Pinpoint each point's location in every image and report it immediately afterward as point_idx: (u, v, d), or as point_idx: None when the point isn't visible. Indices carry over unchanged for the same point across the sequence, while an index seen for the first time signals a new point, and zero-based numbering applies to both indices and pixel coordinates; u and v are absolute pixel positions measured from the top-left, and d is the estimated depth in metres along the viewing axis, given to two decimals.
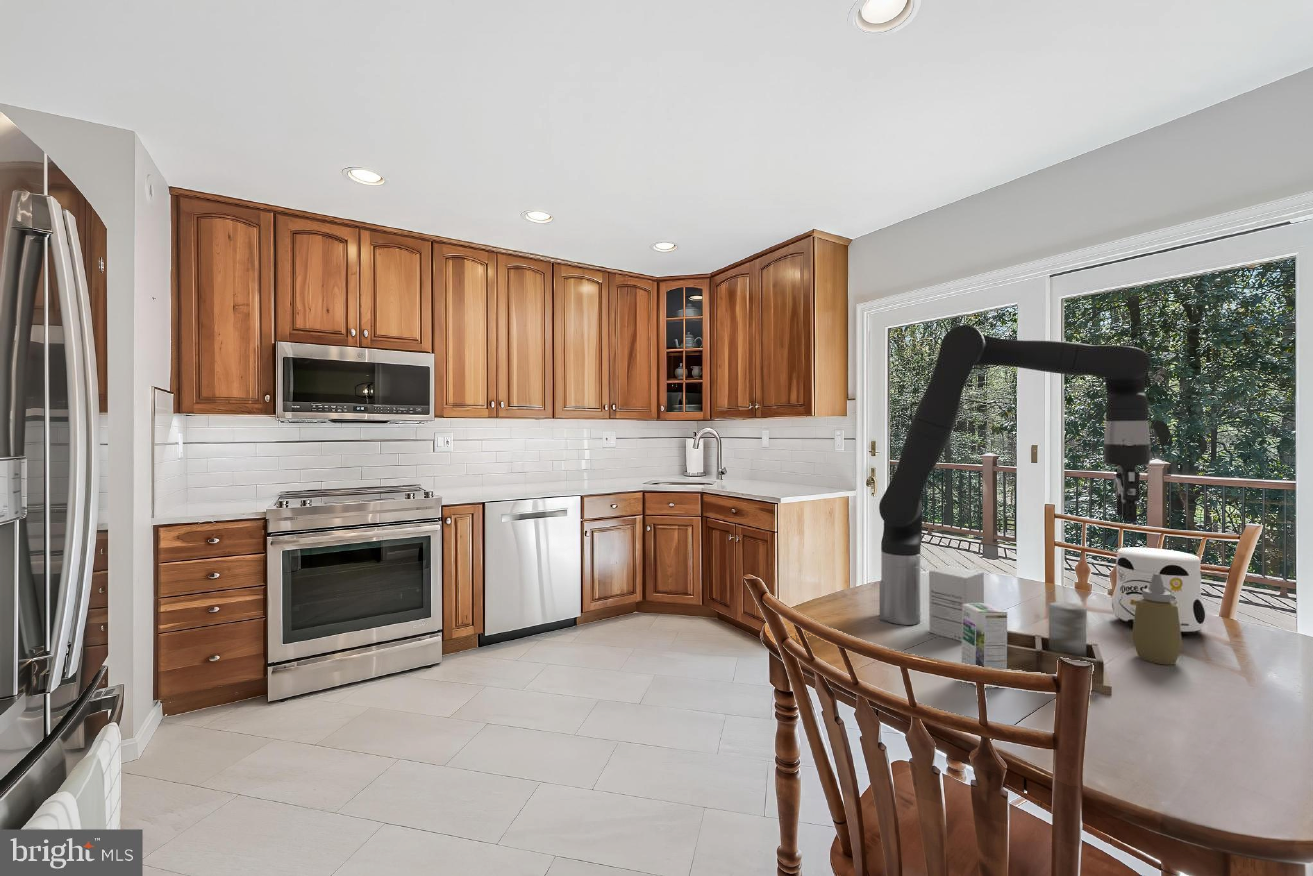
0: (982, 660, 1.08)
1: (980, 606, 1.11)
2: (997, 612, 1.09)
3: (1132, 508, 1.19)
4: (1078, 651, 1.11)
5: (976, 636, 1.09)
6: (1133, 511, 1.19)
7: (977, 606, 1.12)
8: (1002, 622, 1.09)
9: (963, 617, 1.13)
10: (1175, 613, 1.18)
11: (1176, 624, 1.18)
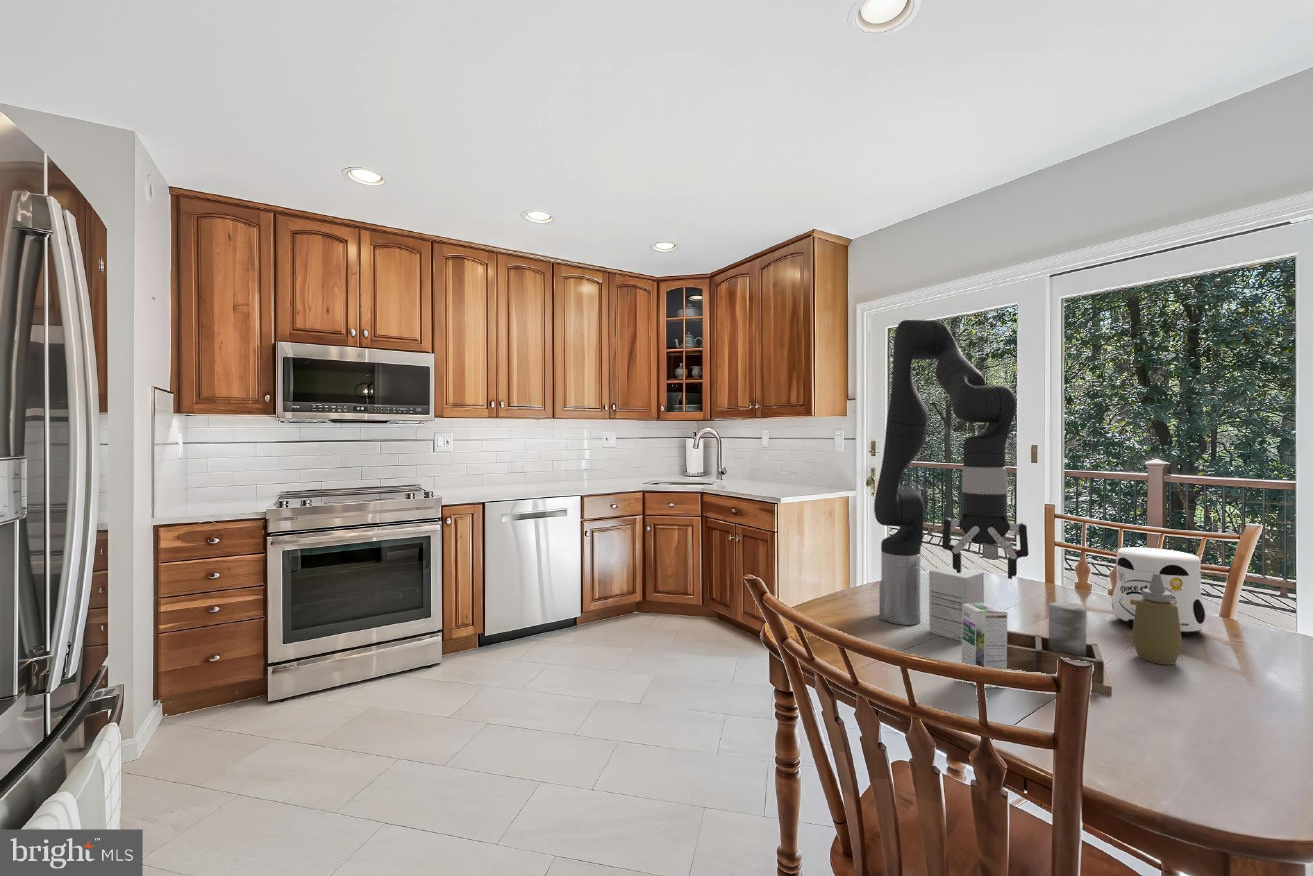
0: (982, 660, 1.08)
1: (980, 606, 1.11)
2: (997, 612, 1.09)
3: None
4: (1078, 651, 1.11)
5: (976, 636, 1.09)
6: None
7: (977, 606, 1.12)
8: (1002, 622, 1.09)
9: (963, 617, 1.13)
10: (1175, 613, 1.18)
11: (1176, 624, 1.18)
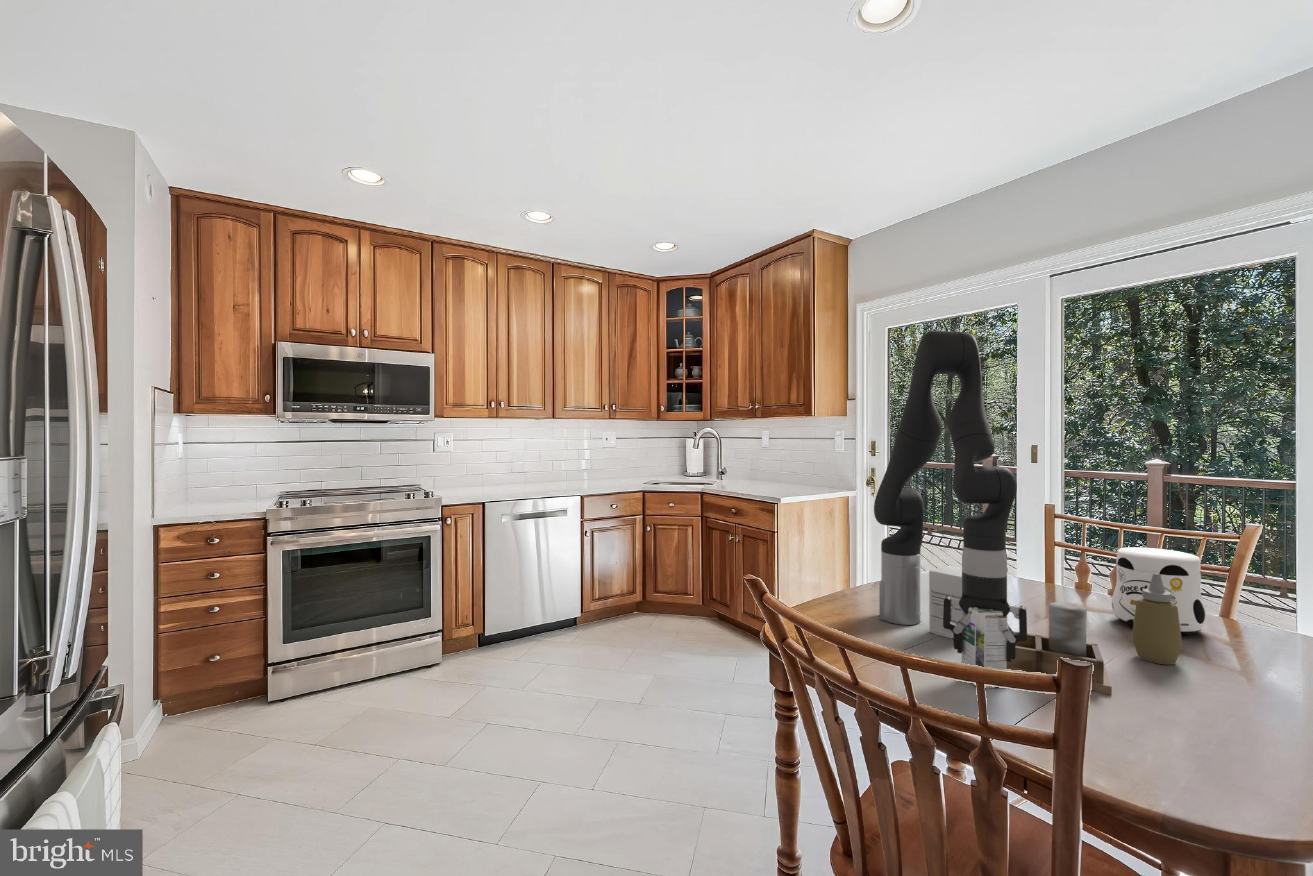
0: (981, 660, 1.08)
1: None
2: (997, 612, 1.09)
3: None
4: (1078, 651, 1.11)
5: (976, 636, 1.09)
6: (1015, 649, 1.09)
7: None
8: None
9: (963, 617, 1.13)
10: (1175, 613, 1.18)
11: (1176, 624, 1.18)
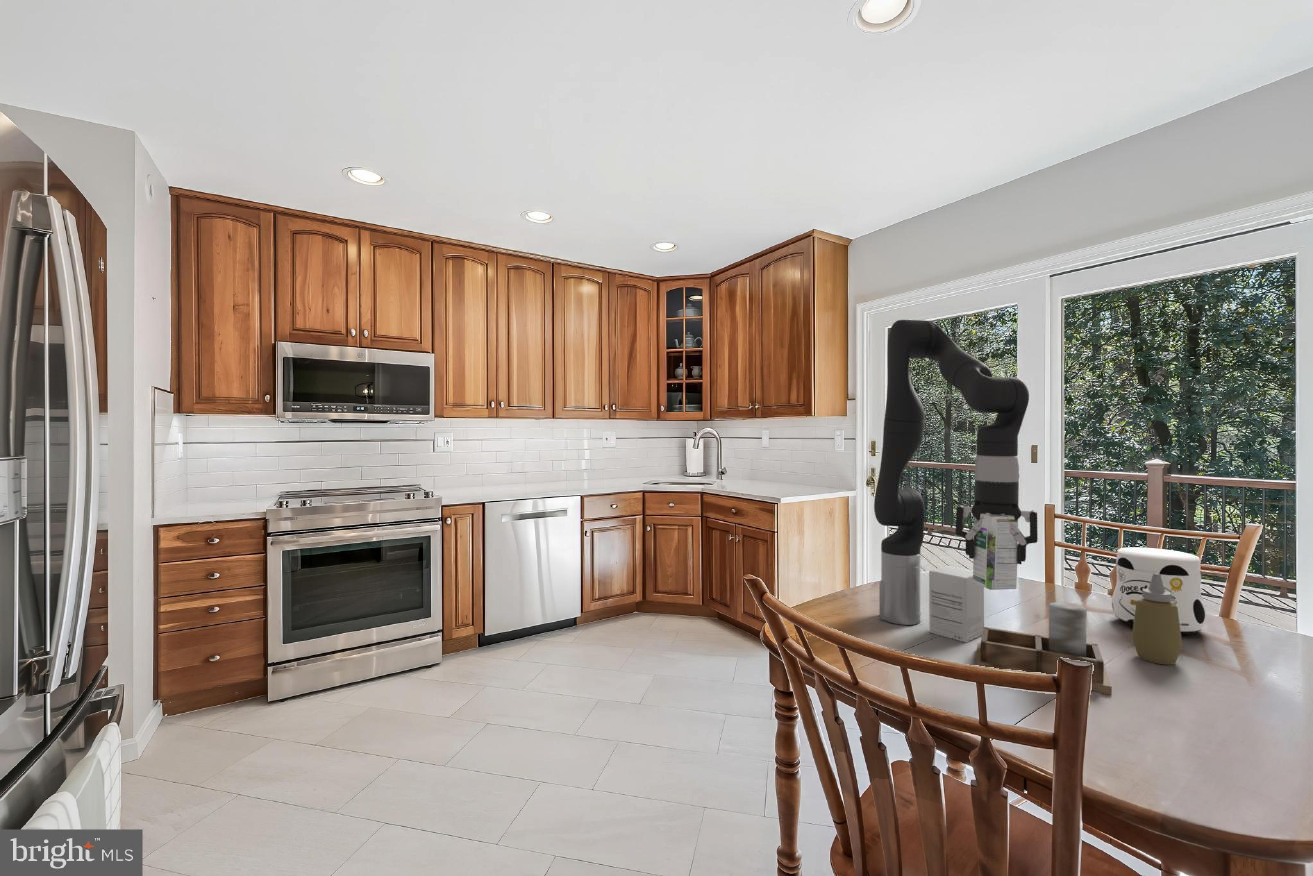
0: (992, 562, 1.12)
1: None
2: (1008, 516, 1.12)
3: None
4: (1078, 651, 1.11)
5: (988, 539, 1.13)
6: None
7: None
8: None
9: None
10: (1175, 613, 1.18)
11: (1176, 624, 1.18)
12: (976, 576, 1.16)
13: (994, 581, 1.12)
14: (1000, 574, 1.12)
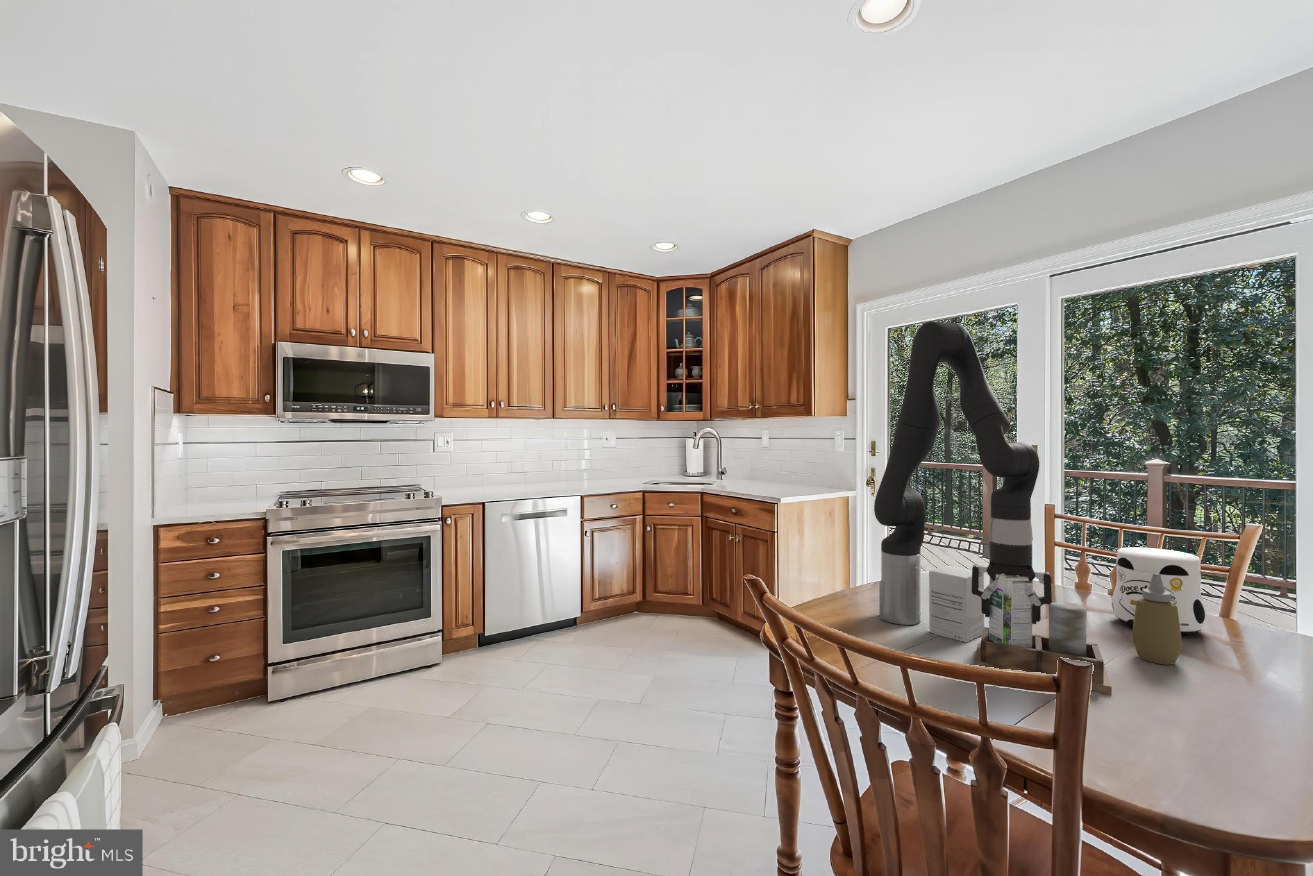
0: (1009, 622, 1.16)
1: None
2: (1023, 578, 1.16)
3: None
4: (1078, 651, 1.11)
5: (1004, 600, 1.17)
6: None
7: None
8: None
9: None
10: (1175, 613, 1.18)
11: (1176, 624, 1.18)
12: (992, 634, 1.20)
13: (1011, 641, 1.16)
14: (1016, 634, 1.16)
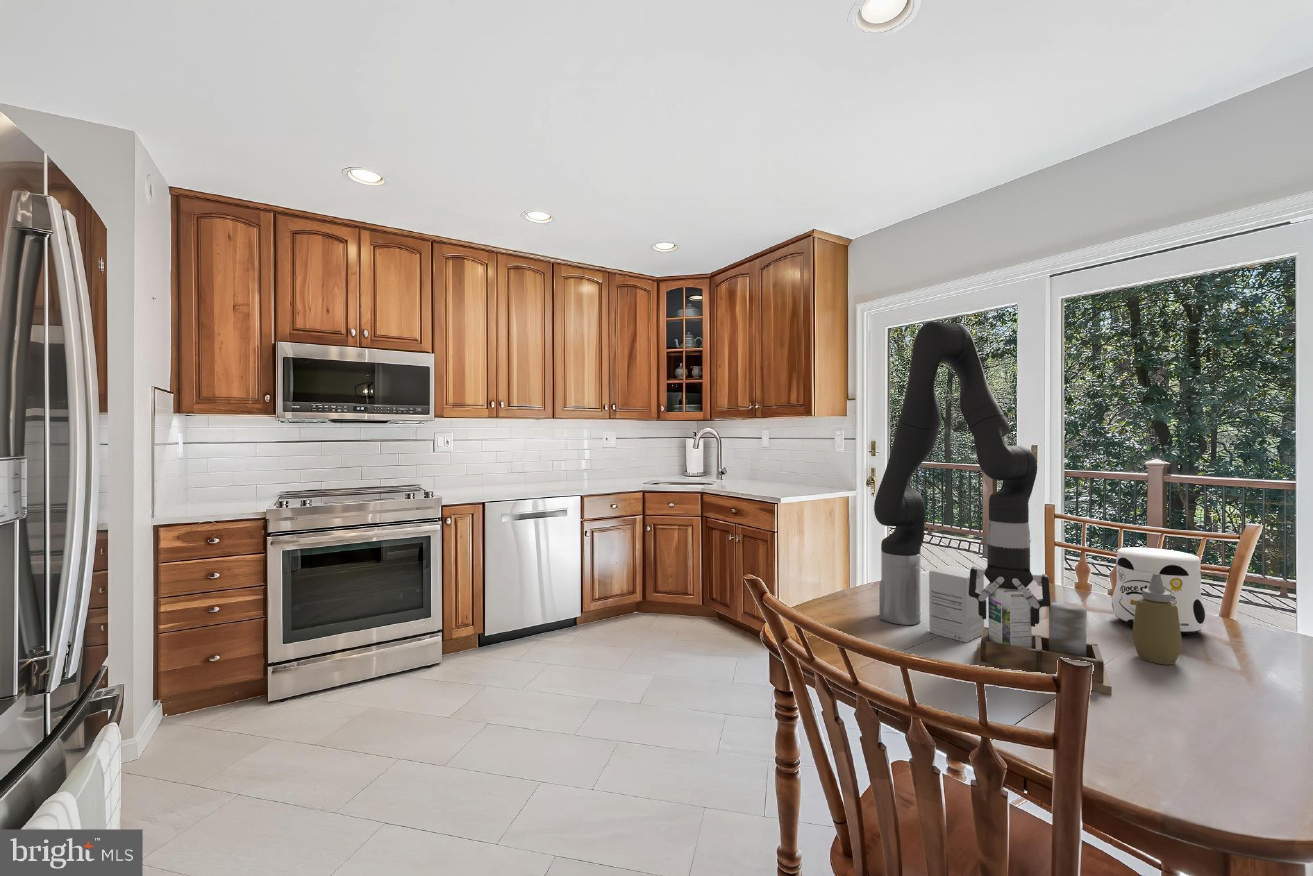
0: (1008, 636, 1.16)
1: None
2: None
3: (1038, 612, 1.17)
4: (1078, 651, 1.11)
5: (1003, 614, 1.17)
6: None
7: None
8: (1026, 600, 1.16)
9: (989, 597, 1.21)
10: (1175, 613, 1.18)
11: (1176, 624, 1.18)
12: None
13: None
14: None
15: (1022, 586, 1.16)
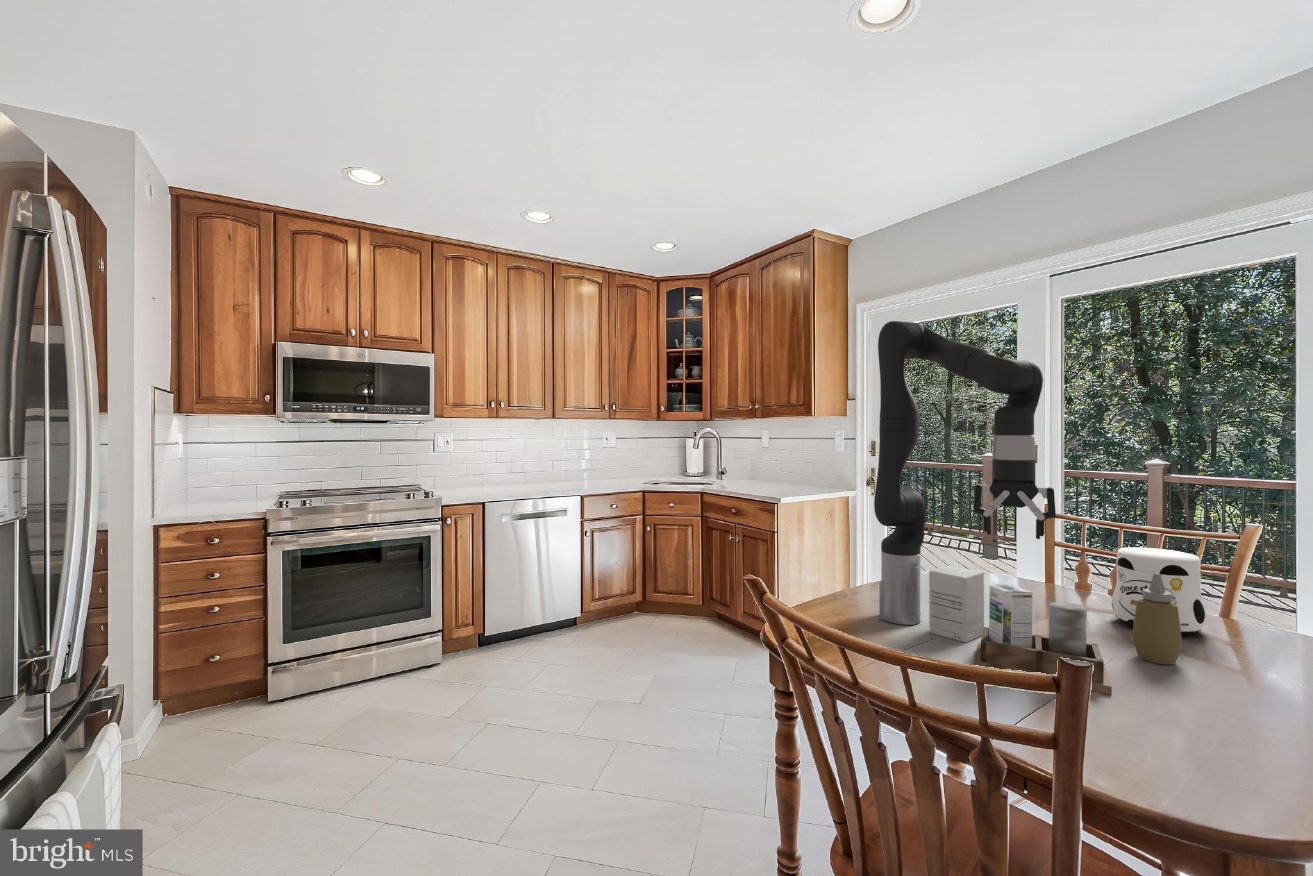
0: (1008, 636, 1.16)
1: (1006, 587, 1.19)
2: (1023, 592, 1.16)
3: (1043, 524, 1.17)
4: (1078, 651, 1.11)
5: (1004, 614, 1.17)
6: None
7: (1004, 587, 1.19)
8: (1028, 601, 1.16)
9: (990, 597, 1.21)
10: (1175, 613, 1.18)
11: (1176, 624, 1.18)
12: None
13: None
14: None
15: (1027, 499, 1.16)
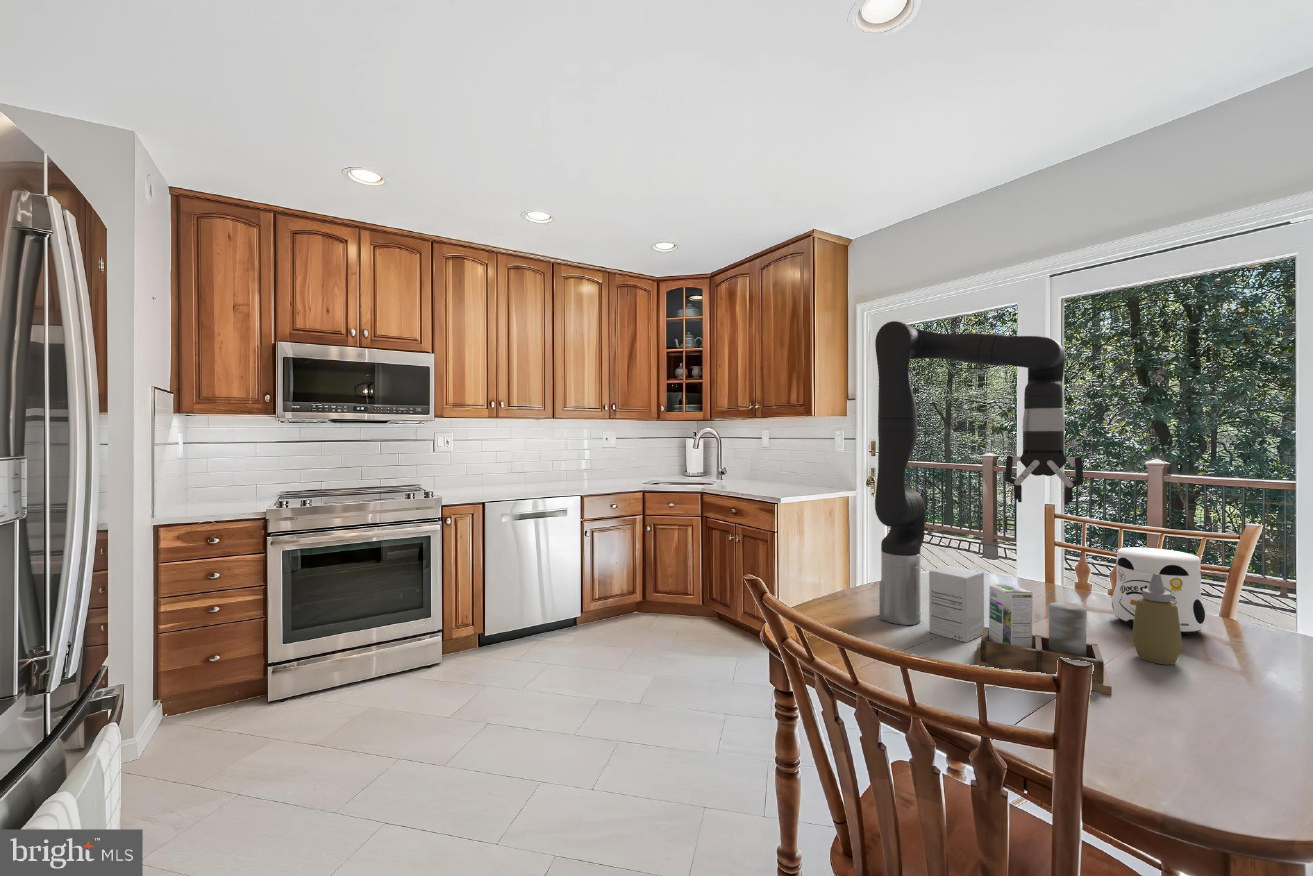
0: (1008, 636, 1.16)
1: (1006, 587, 1.19)
2: (1023, 592, 1.16)
3: None
4: (1078, 651, 1.11)
5: (1004, 614, 1.17)
6: None
7: (1004, 587, 1.19)
8: (1028, 601, 1.16)
9: (990, 597, 1.21)
10: (1175, 613, 1.18)
11: (1176, 624, 1.18)
12: None
13: None
14: None
15: (1056, 467, 1.25)
